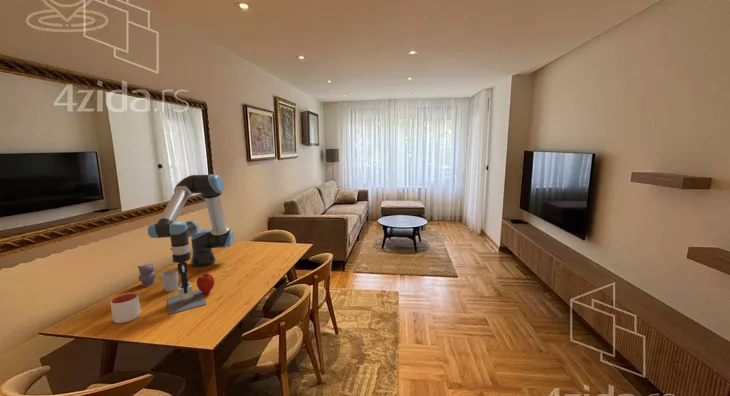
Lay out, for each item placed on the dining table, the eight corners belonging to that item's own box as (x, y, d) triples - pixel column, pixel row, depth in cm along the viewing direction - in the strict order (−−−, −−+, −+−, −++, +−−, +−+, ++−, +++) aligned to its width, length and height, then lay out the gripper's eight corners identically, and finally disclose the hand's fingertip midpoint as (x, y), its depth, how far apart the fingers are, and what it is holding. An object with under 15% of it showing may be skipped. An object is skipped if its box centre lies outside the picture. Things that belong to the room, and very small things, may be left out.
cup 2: (183, 287, 168) (181, 270, 167) (169, 293, 160) (167, 276, 159) (172, 285, 171) (171, 269, 169) (159, 291, 163) (157, 274, 162)
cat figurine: (141, 288, 167) (138, 268, 166) (138, 284, 173) (135, 265, 171) (158, 283, 174) (156, 264, 172) (155, 279, 179) (153, 261, 177)
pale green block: (178, 296, 152) (177, 284, 151) (192, 292, 156) (190, 281, 155) (179, 300, 147) (178, 288, 146) (193, 297, 151) (192, 285, 150)
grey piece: (167, 298, 156) (166, 288, 155) (201, 289, 165) (200, 280, 164) (168, 314, 139) (167, 304, 138) (206, 304, 148) (205, 294, 147)
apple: (199, 291, 163) (197, 272, 161) (216, 288, 166) (214, 270, 164) (196, 298, 155) (194, 278, 154) (214, 295, 158) (212, 276, 157)
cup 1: (123, 313, 141) (120, 293, 140) (145, 312, 142) (143, 292, 141) (107, 325, 132) (104, 304, 130) (131, 323, 132) (128, 303, 131)
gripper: (171, 249, 154) (176, 291, 157) (172, 259, 138) (178, 305, 141) (188, 246, 158) (192, 287, 161) (191, 256, 142) (196, 301, 146)
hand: (185, 296), depth 151 cm, fingers closed on pale green block, 6 cm apart
